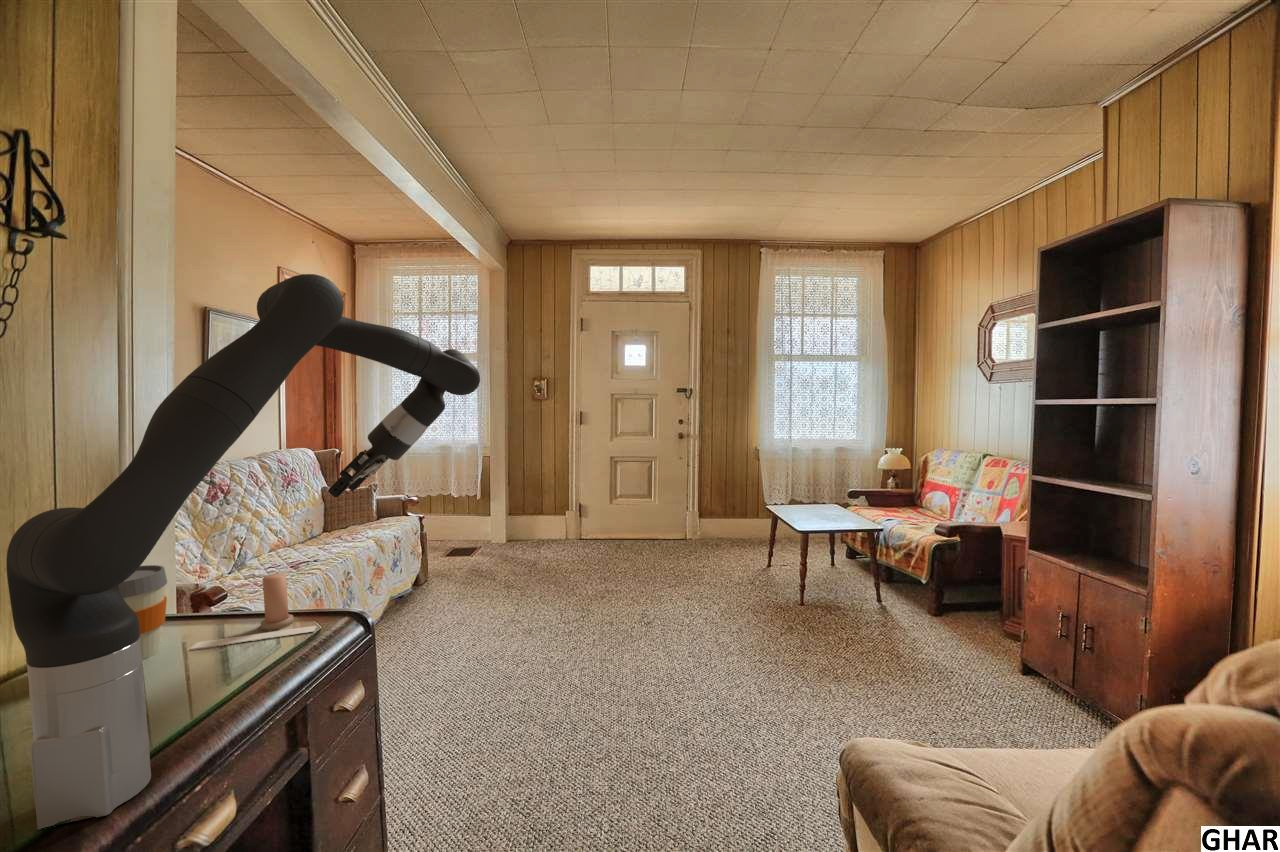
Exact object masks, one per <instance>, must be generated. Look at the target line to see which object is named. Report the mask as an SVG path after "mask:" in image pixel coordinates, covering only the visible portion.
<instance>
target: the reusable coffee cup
mask: <svg viewBox="0 0 1280 852" xmlns="http://www.w3.org/2000/svg"><path fill="white" fill-rule="evenodd" d="M167 584H168V578H167V574H166V571H165V567H164V565H163V566H162V565H158V564H157V565H156V564H151V565H150V564H149V565H141V566H140V567H139V568H138V569H137V570H136V571H135V572H134V573H133V574H132V575H131V576H130V577H129V578H128V579H126V580H125V581H123V582H122V583H120V584H119V590H120V593H121V595H122V597H123V599H124V600H125V602H126V603H127V604H128V606H129V607H130V608H131V609H132V610H133V611H134V612H135V613H136V614H137V616H138V619H139V627H140V639H141V652H142V661H144V660H147V659H149V658H151V657H153V656H155V655H156V654H158V653H159V652H160V648H161V639H162V638H161V636H162V628H163V627H162V626H163V624H165V622H166V613H167V611H166V610H167V602H168V601H167V599H168V597H167V596H166V595H165V592H166V591H165V589H166V585H167Z"/></svg>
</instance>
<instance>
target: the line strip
mask: <svg viewBox="0 0 1280 852" xmlns="http://www.w3.org/2000/svg"><path fill="white" fill-rule="evenodd" d="M316 629H317V625H312V626H303V627H298V628H291V629H284V630H274V631H266V632H262V633H260V632H259V633H255V634H247V635H241V636H232V637H226V638H220V639H212V640H204V641H197V642H196V643H194V645H192V646H191V647H190V649H189V651H198V650H204V649H209V648H210V649H211V648H216V647H217V646H218V647H224V645H225V646H230V645H229V644H232V645H235V644H234V643H239V644H241V643H240V642H245V641H251V640H260V641H262V640H261V639H267V638H274V637H279V636H284V635H292V634H298V633H308V632H313V631H314V632H315V630H316ZM314 632H313V633H314ZM308 634H309V633H308ZM274 639H275V638H274ZM267 640H268V639H267Z"/></svg>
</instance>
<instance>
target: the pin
mask: <svg viewBox="0 0 1280 852" xmlns="http://www.w3.org/2000/svg"><path fill="white" fill-rule="evenodd" d="M262 589H263V590H262V591H263V605H264V619H263V620H261V622H260V630H261V629H262V630H261V631H263V630H273V631H277V630H276V629H278V630H281V629H280V628H282V629H284V628H283V627H285V628H287V627H286V626H288V625H290V624H292V623H293V622H294V621H295V620H294V614H291V613H288V612H289V601H288V599H289V598H288V583H287V574H286V573H275V574H269V575H266V576H264V577H262ZM293 624H294V623H293ZM293 624H292V625H293ZM290 626H291V625H290ZM288 627H289V626H288Z"/></svg>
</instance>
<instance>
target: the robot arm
mask: <svg viewBox="0 0 1280 852" xmlns="http://www.w3.org/2000/svg"><path fill="white" fill-rule="evenodd" d="M344 304H345V303H344V298H343V295H342V292H341V290H340V288H339V287H338V286H337V285H336V284H335V283H334V282H333V281H331V279H329V278H328V277H327V278H326V277H325V276H322V275H319V274H316V273H315V274H313V273H307V274H306V273H302V274H297V275H293V276H291V277H288V278H286V279H284V280H282V281H280V282H278V283H276V284H274V285H272V286H270V287H268V288H267V289H265V291H263V292H262V293H261V294H260V295H259V297H258V300H257V302H256V312H257V316H258V319H259V320H258V322H256V323H255V324H254V325H253V327H251V328H250V329H248V330H247V331H246V332H245V333H244V334H242V335H241V336H240V337H238V338H237V339H235V340H233V341H232V342H230V343H228V344H227V345H226V346H224V347H223V348H222V349H220V350H218V351H217V352H215V353H214V354H213V355H212V356H210V357H209V358H208V359H206V360H205V361H204V362H202V363H201V364H200V365H199V366H197V367H196V368H195V369H193V370H192V372H189V374H187V376H185V378H184V379H183V380H182V381H181V382H180V383H179V384H178V385H177V386H176V387H175V388H174V389H173V390H172V391H171V392H170V393H169V394H168V395H167V396H166V397H165V398H164V399H163V400H162V401H161V403H160V404H159V405H158V407H157V408H156V410H155V411H154V413H153V414H152V416H151V418H150V421H149V422H148V425H147V427H146V429H145V432H144V435H143V438H142V440H141V442H140V445H139V447H138V449H137V451H136V453H135V455H134V457H133V458H132V460H131V461H130V463H129V464H128V466H127V467H126V468H125V469H124V470H123V471H122V472H121V473H120V474H119V475H118V476H117V478H115V479H114V480H113V481H112V482H111V483H110V484H109V485H108V486H107V487H106V488H105V489H104V490H103V491H102V492H101V493H100V494H98V496H96V497H95V498H94V499H93V500H92V501H90V503H88V504H87V505H86V506H85V507H61V508H60V507H58V508H53V509H49V510H46V511H43V512H41V513H39V514H36V515H35V516H31V518H29V519H28V520H26V521H25V522H24V523H23V524H22V525H21V526H20V527H19V528H17V530H16V531H15V532H14V533H13V535H12V537H11V539H10V540H9V543H8V548H7V551H6V561H5V562H6V563H5V564H6V579H7V580H6V581H7V587H8V594H9V600H10V601H9V603H10V606H11V607H10V608H11V614H12V621H13V627H14V630H15V633H16V635H17V638H18V640H19V641H20V643H21V644H22V647H23V649H24V653H25V661H26V667H27V668H26V670H27V678H28V681H27V682H28V691H29V692H28V694H29V706H30V715H31V728H32V738H33V739H32V740H33V741H32V742H31V744H30V747H29V748H30V758H31V759H30V760H31V769H32V779H33V780H32V781H33V792H34V803H35V812H36V813H35V814H36V825H37V826H36V827H37V830H42V829H41V828H43V827H46V826H50V825H54V824H56V823H58V822H60V821H61V822H62V821H65V820H69V819H72V818H75V817H78V816H79V817H80V816H83V817H84V816H95V817H96V818H101V817H104V816H108V815H110V814H111V813H112V812H113V811H114V809H116V808H117V807H119V806H121V805H122V804H123V803H126V802H128V801H129V800H131V799H132V798H133V797H135V796H137V795H138V794H139V793H140V792H141V791H142V790H144V789H145V788H146V787H147V785H149V783H150V781H151V779H152V771H151V756H150V755H151V754H150V744H149V743H150V742H149V732H148V721H147V719H148V718H147V708H146V707H147V705H146V695H145V694H146V693H145V692H146V691H145V682H144V681H145V680H144V668H143V660H142V652H141V639H140V627H139V619H138V616H137V614H136V613H135V612H134V611H133V610H132V609H131V608H130V607H129V606H128V604H127V603H126V602H125V600H124V599H123V597H122V595H121V593H120V590H119V584H120V583H122V582H123V581H125V580H126V579H128V578H129V577H130V576H131V575H132V574H133V573H134V572H135V571H136V570H137V569H138V568H139V567H140V566H142V564H143V563H144V562H145V560H146V559H147V557H148V556H149V555H150V554H151V552H152V550H153V549H154V547H155V546H156V545H157V542H158V541H159V540H160V538H161V537H162V536H163V535H164V532H165V531H166V529H167V528H168V526H169V525H170V523H172V521H173V519H174V517H175V516H176V514H177V513H178V511H179V510H180V509H181V508H182V506H183V504H184V503H185V502H186V500H187V499H188V498H189V497H190V495H191V494H192V493H193V492H194V490H195V489H196V488H197V487H198V486H199V484H201V482H203V480H204V479H205V477H206V476H207V475H208V474H209V473H210V472H211V471H212V469H213V468H214V467H215V465H216V464H218V462H219V460H220V459H221V458H222V457H223V456H224V455H225V454H226V453H227V451H228V450H229V449H230V448H231V447H232V446H233V445H234V444H235V442H236V441H237V440H238V439H239V438H240V437H241V435H243V433H244V432H245V431H246V430H247V429H248V427H249V426H251V424H252V423H253V422H254V420H255V419H256V418H257V416H258V415H259V413H260V412H261V411H262V410H263V408H264V407H265V406H266V405H267V403H268V402H269V400H270V399H272V397H273V396H274V394H276V392H277V391H278V389H279V388H280V387H281V385H282V384H283V383H284V382H285V380H286V379H288V378H287V377H289V375H290V373H291V372H292V371H293V369H294V368H295V367H296V366H297V364H298V363H299V362H300V361H301V360H302V359H304V358H305V356H306V355H307V354H308V353H309V352H310V351H311V350H313V348H314V347H315V346H317V347H321V348H322V347H323V348H326V349H330V350H335V351H338V352H342V353H347V354H350V355H354V356H358V357H361V358H364V359H368V360H372V361H373V362H377V363H380V364H384V365H385V366H388V367H391V368H394V369H395V370H396V369H397V370H400V371H402V372H405V373H406V374H410V375H413V376H415V377H419V378H420V379H419V381H418V382H417V385H416V386H415V388H414V390H413V391H411V393H409V394H408V395H407V396H406V397H405V398H404V399H403V400H402V401H401V403H400V404H398V405H397V406H396V407H394V408H393V409H392V410H391V411H390V412H389V413H388V414H387V415H386V416H385V417H384V418H383V419H382V420H381V421H379V423H378V424H377V425H376V426H375V427H374V428H373V429H372V430H371V431H370V432H369V434H368V435H367V440H368V442H369V443H370V444H371V448H369V449H364V450H362V451H360V452H358V454H357V455H356V456H355V457H354V458H353V459H352V460H351V461H350V463H348V465H346V466H345V467H344V468H343V469H342V470H341V471H339V473H338V475H340V477H339V478H338V479H337V480H336V481H335V482H334V483H333V484H332V485H331V486H330V487H329V488H328V493H330V495H332V497H333V498H339V497H340V496H342V494H343V493H344V492H345V491H346V490H348V489H349V490H350V491H352V492H353V491H356V490H357V489H358V488H359V487H360V486H362V484H363V483H364V482H365V480H367V479H369V478H371V477H372V475H375V474H376V473H377V472H378V471H379V470H380V468H382V466H383V465H384V464H385V463H386V462H387V461H388V460H389V459H390V460H393V461H398V460H400V459H401V458H402V457H403V456H404V454H406V452H408V450H409V449H411V448H412V447H413V445H414V444H415V443H416V442H417V441H418V440H419V439H420V438H421V437H422V436H423V435H424V433H425V432H426V430H427V429H428V428H429V427H430V426H431V425H432V424H433V423H434V422H435V421H436V419H437V418H438V417H440V416H441V414H442V413H443V412H444V410H445V409H446V403H445V399H444V395H445V393H449V394H452V395H455V396H467V395H469V394H472V393H473V392H475V391H476V390H477V389H478V388H479V386H480V382H481V374H480V372H479V370H478V368H477V367H476V366H475V365H474V364H473V363H472V361H470V360H469V358H467V356H465V354H464V353H463V352H462V351H460V350H458V349H453V348H450V349H446V350H441V349H440V348H439V347H438V346H437V345H436V344H434V343H433V342H431V341H428V340H426V339H424V338H423V337H420V336H417V335H415V334H412V333H410V332H408V331H405V330H402V329H400V328H396V327H391V326H385V325H380V324H375V323H370V322H365V321H360V320H356V319H353V318H349V317H346V316H343V314H344ZM351 471H352V472H354V474H352V475H351V474H350V472H351Z"/></svg>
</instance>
